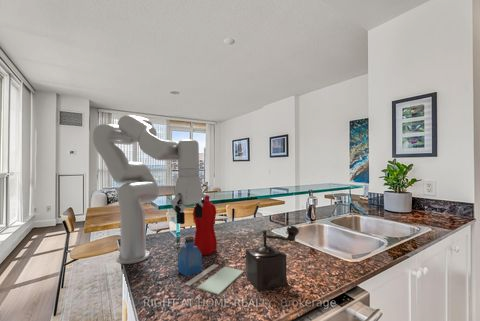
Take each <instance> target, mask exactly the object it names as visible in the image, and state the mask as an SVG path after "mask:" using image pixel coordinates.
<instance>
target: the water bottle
mask: <svg viewBox="0 0 480 321" xmlns="http://www.w3.org/2000/svg"><path fill="white" fill-rule="evenodd" d="M195 207H196V205H195V204H194V207H193V211H192V217H193V219H192V220H193V223H194V225H195V233H194V236H193V237H194V246H196V247H198V249H199V250H200V252H201V253H202V256H209V255H212V254H213V253H214V252H216V251H217V248H218V242H217V241H218V240H217V237H216V233H215V223H216V222H215V221H216V217H217V207H216V205H215V204H214V203H213V202H212V201H210V195H209V194H205V199H204V203H203V207H202V218H196V217H195Z"/></svg>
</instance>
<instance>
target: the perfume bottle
mask: <svg viewBox="0 0 480 321" xmlns="http://www.w3.org/2000/svg"><path fill="white" fill-rule="evenodd" d="M194 237H195V236H186V237H184V238H185V239H184V246H181V248H180V250H179V251H178V253H177V272H179V273H180V274H181V275H183V276H185V277H186V278H187V277H188V278H189V276H192V275H195V274H197V273H198V274H199V273H201V272H203V259H202V258H203V257H202V256H203V255H202V253H201V252H200V250H199V249H198V247H196V246H194Z"/></svg>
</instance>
